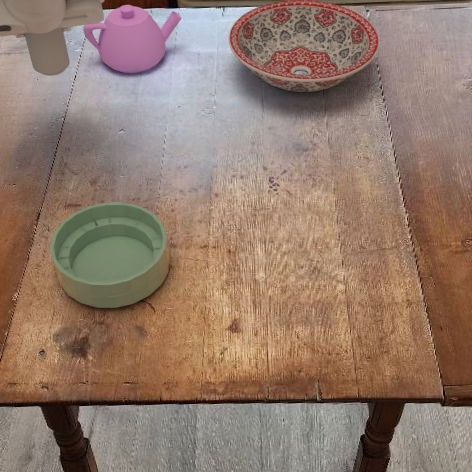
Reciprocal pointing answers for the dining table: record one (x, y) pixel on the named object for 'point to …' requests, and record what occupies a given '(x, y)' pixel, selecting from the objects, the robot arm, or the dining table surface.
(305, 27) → the ceramic bowl
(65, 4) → the robot arm
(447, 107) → the dining table surface
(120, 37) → the teapot
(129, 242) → the green bowl
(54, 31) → the beverage can
